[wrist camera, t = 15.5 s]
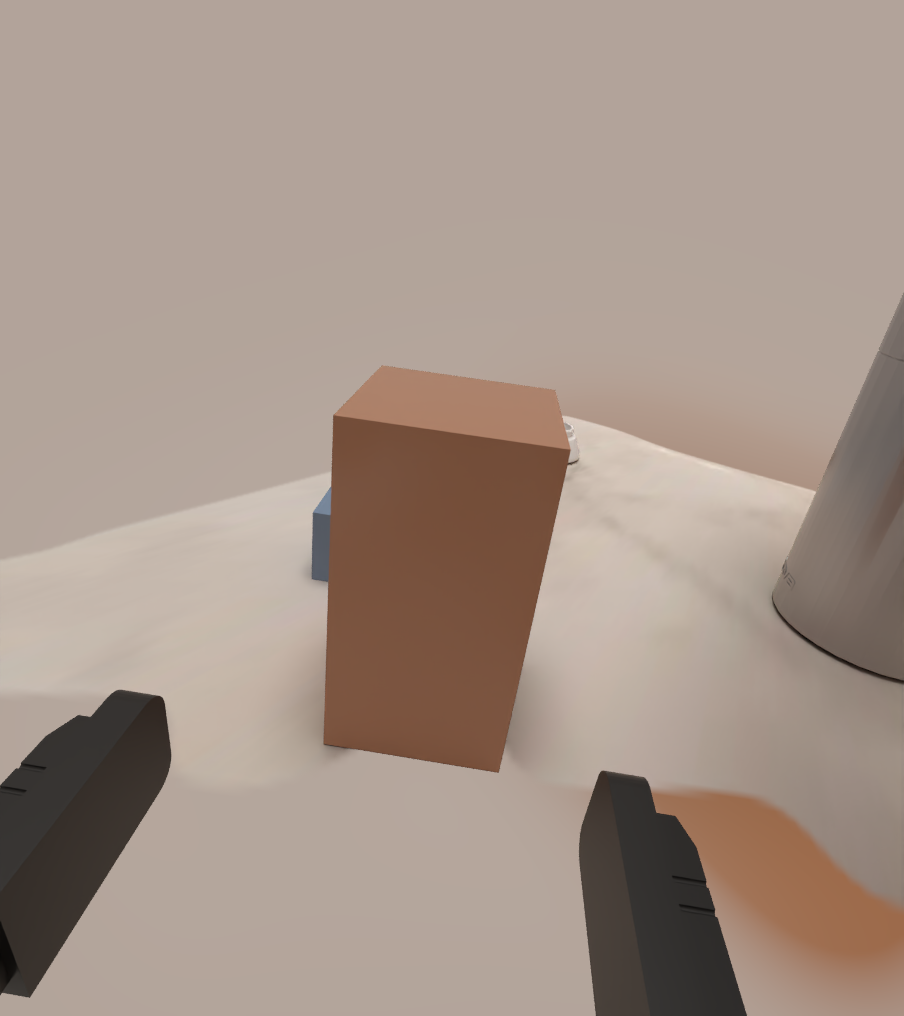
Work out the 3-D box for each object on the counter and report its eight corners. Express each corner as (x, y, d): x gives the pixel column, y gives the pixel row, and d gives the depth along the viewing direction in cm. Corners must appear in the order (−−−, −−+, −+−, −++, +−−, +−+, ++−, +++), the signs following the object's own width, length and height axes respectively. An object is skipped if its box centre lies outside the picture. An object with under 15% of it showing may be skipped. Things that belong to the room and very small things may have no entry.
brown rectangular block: (501, 655, 26) (555, 389, 21) (498, 772, 21) (571, 449, 15) (364, 633, 27) (382, 365, 21) (323, 743, 21) (333, 415, 15)
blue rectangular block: (400, 553, 34) (406, 491, 32) (387, 592, 30) (393, 524, 28) (332, 543, 34) (334, 480, 32) (311, 580, 30) (312, 512, 28)
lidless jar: (511, 453, 51) (562, 471, 49) (517, 421, 50) (569, 439, 47) (538, 441, 55) (586, 458, 52) (544, 412, 54) (594, 427, 51)
